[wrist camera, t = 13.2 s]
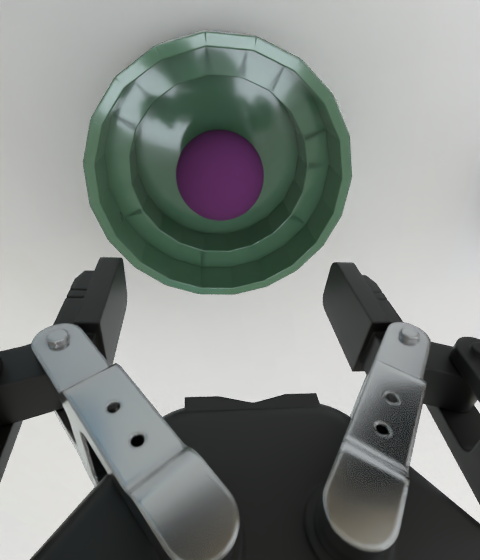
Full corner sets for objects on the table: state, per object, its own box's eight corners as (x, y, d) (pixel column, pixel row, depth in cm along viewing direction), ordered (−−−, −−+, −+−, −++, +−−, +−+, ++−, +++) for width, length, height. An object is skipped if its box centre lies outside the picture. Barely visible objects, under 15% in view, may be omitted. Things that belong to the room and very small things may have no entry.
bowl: (120, 248, 29) (104, 293, 24) (91, 18, 20) (57, 16, 16) (301, 253, 31) (320, 295, 26) (346, 43, 22) (386, 48, 17)
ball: (178, 198, 27) (174, 235, 22) (177, 117, 23) (172, 140, 19) (253, 201, 27) (264, 237, 23) (261, 123, 24) (276, 146, 19)
